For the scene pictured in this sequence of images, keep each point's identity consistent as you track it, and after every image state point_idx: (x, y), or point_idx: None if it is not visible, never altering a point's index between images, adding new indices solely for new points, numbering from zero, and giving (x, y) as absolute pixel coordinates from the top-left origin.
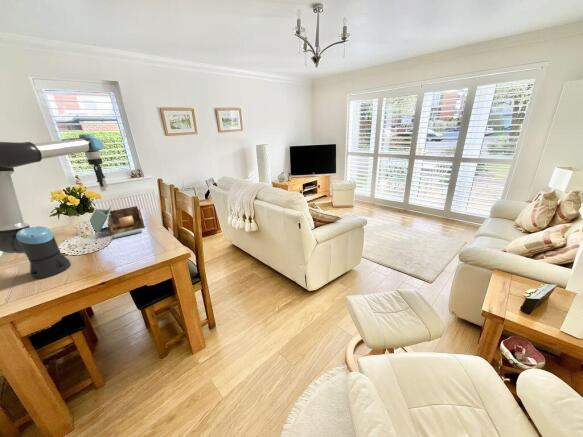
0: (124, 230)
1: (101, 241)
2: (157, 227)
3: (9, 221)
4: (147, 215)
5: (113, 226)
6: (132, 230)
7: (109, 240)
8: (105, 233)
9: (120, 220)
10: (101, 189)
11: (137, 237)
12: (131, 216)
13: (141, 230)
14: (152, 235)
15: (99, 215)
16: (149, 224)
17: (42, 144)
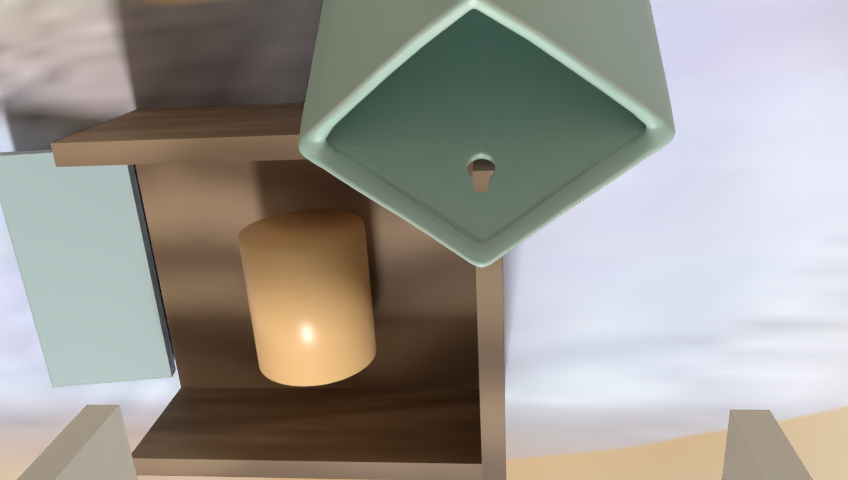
0: (191, 235)
1: (50, 21)
2: (182, 477)
3: None
4: (647, 439)
5: None
6: (142, 305)
7: (43, 96)
8: (283, 36)
9: (245, 259)
10: (55, 455)
11: (10, 323)
12: (283, 379)
13: (53, 383)
14: (4, 426)
15: (373, 36)
16: None
17: None
